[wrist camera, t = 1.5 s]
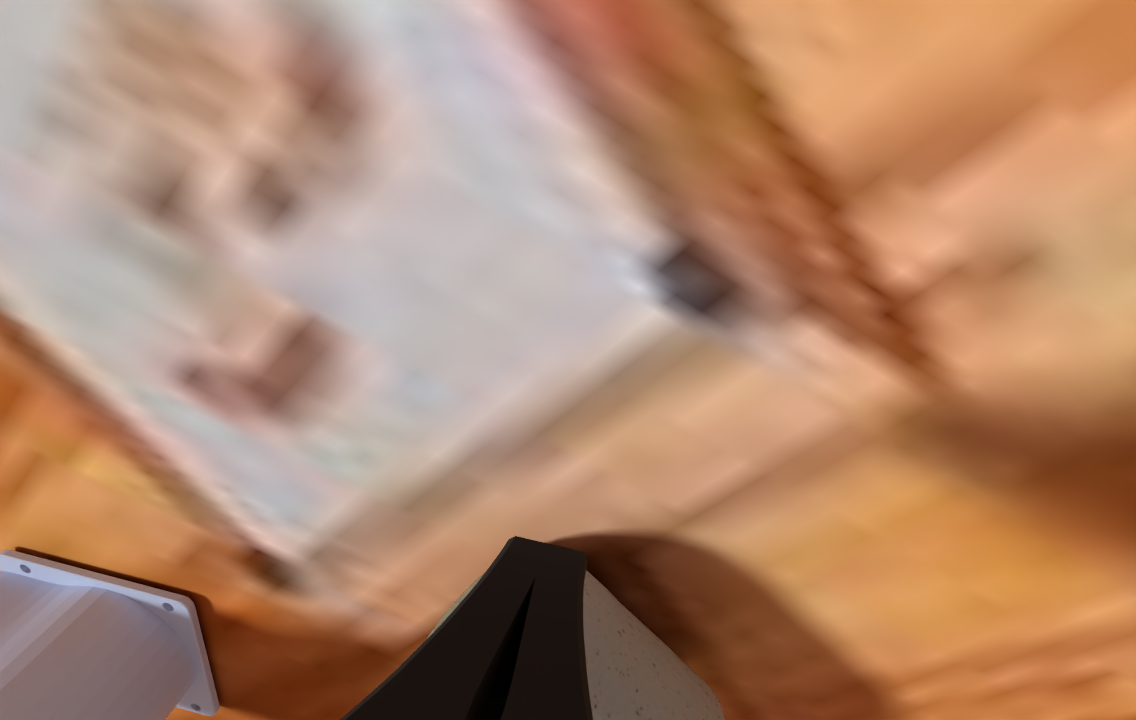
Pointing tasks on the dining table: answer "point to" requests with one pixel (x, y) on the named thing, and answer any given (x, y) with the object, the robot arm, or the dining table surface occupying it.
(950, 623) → the dining table surface
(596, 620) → the ceramic mug
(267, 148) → the dining table surface
